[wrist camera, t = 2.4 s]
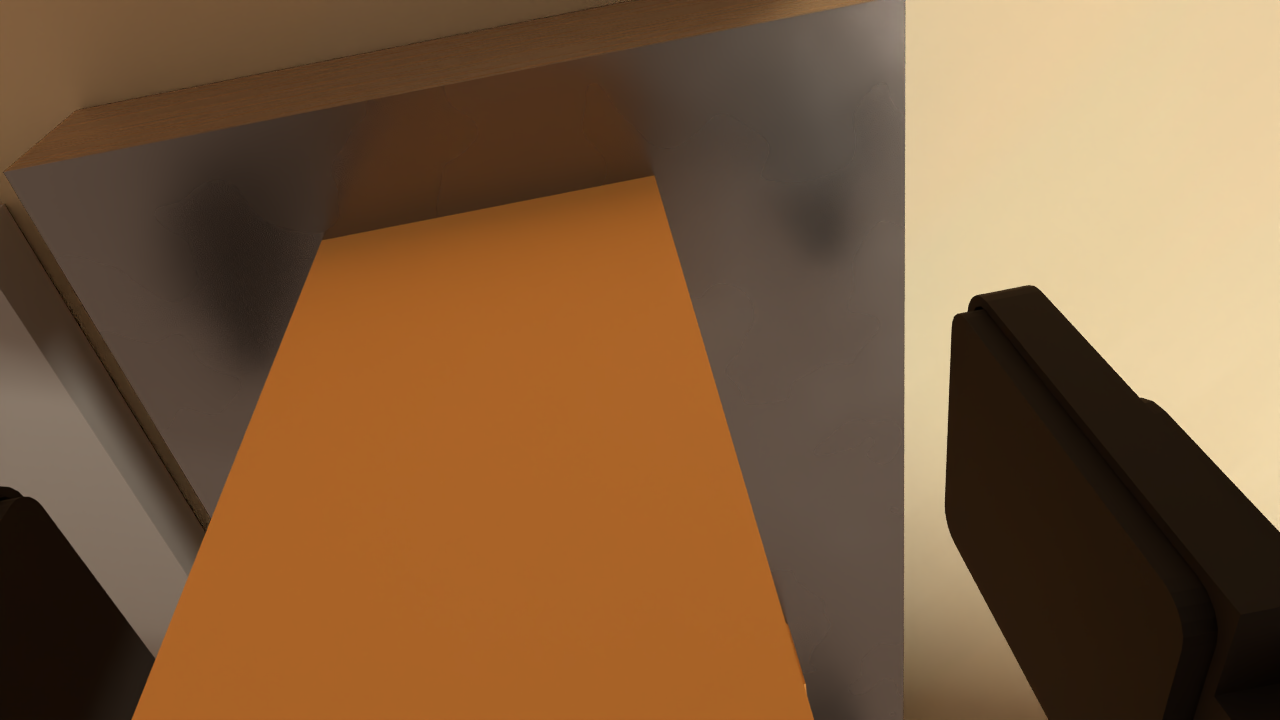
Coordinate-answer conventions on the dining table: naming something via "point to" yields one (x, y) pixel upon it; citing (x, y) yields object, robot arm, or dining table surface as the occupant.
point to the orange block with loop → (486, 493)
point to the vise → (538, 167)
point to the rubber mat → (86, 450)
